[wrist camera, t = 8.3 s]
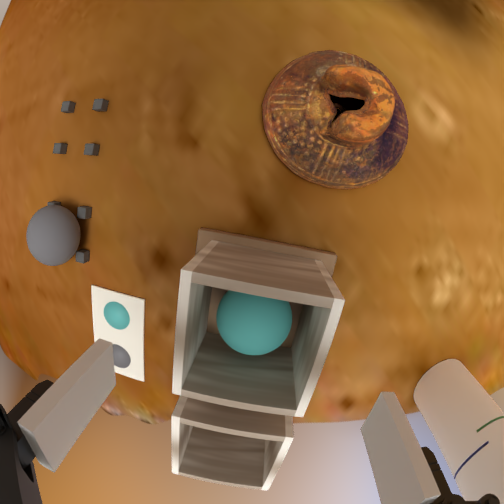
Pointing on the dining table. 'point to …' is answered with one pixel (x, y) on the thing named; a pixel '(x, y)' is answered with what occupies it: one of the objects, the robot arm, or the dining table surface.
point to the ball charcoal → (53, 235)
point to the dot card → (121, 328)
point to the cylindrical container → (464, 428)
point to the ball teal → (253, 322)
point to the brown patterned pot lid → (344, 127)
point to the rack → (247, 357)
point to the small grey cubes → (90, 149)
